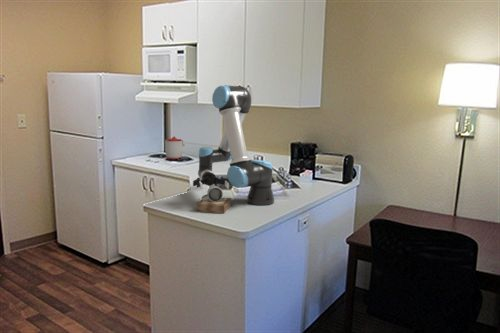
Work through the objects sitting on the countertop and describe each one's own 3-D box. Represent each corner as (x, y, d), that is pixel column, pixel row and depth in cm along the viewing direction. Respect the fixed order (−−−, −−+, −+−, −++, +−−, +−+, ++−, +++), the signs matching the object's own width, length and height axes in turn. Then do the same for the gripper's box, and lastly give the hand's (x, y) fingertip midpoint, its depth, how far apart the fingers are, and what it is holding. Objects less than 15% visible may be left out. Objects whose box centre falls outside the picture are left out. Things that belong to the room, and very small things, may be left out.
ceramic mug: (221, 197, 217) (220, 183, 216) (222, 202, 209) (222, 187, 208) (200, 198, 215) (200, 184, 214) (201, 202, 207) (201, 187, 206)
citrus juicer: (186, 160, 355) (186, 137, 351) (166, 161, 350) (165, 137, 346) (183, 157, 370) (183, 135, 366) (163, 158, 364) (163, 135, 361)
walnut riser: (230, 205, 219) (231, 197, 218) (224, 213, 204) (224, 205, 204) (205, 203, 221) (205, 195, 221) (197, 211, 207) (197, 203, 206)
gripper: (230, 183, 233) (238, 192, 213) (185, 184, 227) (190, 194, 207) (230, 170, 232) (239, 178, 212) (185, 171, 225) (190, 179, 205)
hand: (215, 186), depth 209 cm, fingers open, 13 cm apart
